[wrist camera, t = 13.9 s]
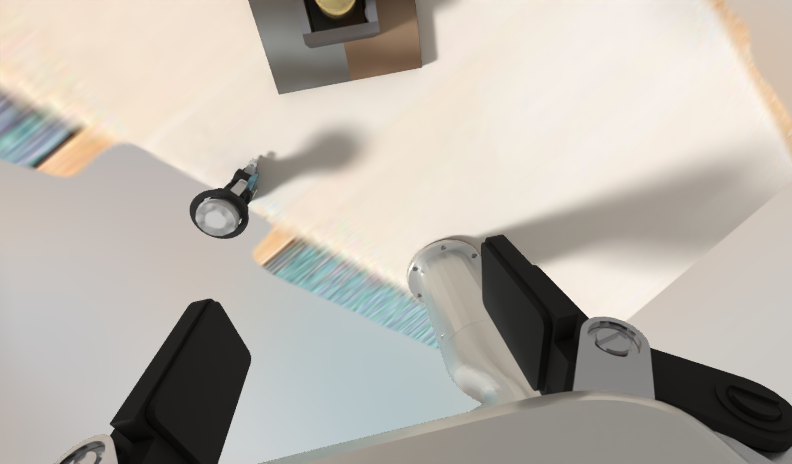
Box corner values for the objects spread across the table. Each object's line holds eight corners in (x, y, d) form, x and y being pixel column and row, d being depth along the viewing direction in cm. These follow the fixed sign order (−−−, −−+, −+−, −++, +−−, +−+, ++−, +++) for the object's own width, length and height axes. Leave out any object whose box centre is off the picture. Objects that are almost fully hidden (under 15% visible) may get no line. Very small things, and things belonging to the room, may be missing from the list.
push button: (235, 147, 36) (200, 172, 27) (278, 170, 38) (258, 199, 29) (216, 193, 38) (177, 229, 29) (257, 211, 40) (233, 251, 31)
